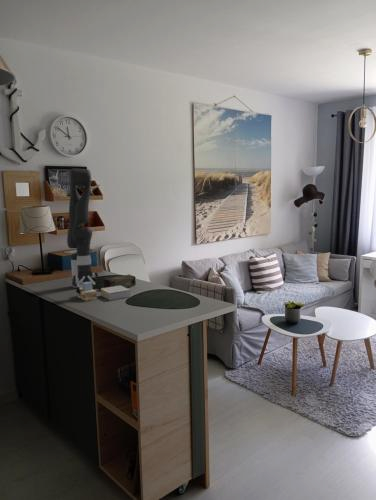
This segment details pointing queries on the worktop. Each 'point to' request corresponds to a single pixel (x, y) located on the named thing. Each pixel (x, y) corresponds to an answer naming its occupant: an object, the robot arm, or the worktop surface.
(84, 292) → the tan rectangular block
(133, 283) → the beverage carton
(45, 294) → the worktop surface
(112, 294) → the dock
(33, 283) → the worktop surface
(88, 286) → the pale blue cube
